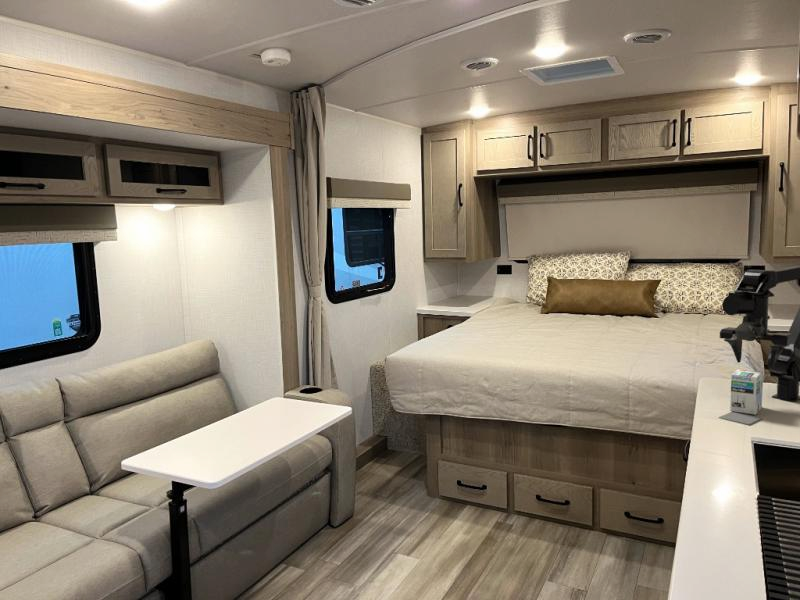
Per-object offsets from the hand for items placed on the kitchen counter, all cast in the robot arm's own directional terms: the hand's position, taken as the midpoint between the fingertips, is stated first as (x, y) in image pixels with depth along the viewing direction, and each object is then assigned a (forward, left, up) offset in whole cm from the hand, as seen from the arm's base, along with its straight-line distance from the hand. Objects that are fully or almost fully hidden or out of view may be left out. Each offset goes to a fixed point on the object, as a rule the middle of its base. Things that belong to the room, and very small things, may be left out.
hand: (755, 364), depth 179 cm
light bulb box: (+8, +1, -12) cm, 14 cm away
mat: (+17, +4, -12) cm, 21 cm away
